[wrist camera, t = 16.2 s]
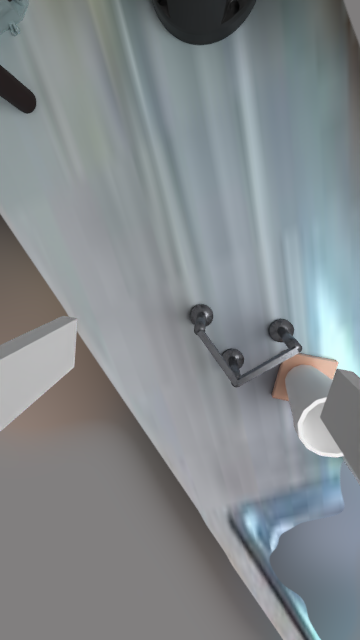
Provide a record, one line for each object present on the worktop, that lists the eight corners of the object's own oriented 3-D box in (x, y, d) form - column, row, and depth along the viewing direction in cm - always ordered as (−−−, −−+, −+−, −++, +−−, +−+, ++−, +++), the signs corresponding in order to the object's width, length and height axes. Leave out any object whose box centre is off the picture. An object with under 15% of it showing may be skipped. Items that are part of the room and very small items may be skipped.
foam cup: (336, 358, 47) (381, 399, 35) (326, 406, 49) (365, 460, 37) (279, 354, 48) (302, 392, 36) (272, 401, 50) (292, 452, 38)
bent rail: (192, 302, 48) (187, 315, 39) (295, 321, 47) (316, 339, 38) (182, 359, 51) (175, 384, 42) (279, 378, 50) (294, 408, 41)
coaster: (284, 350, 49) (285, 352, 48) (335, 360, 48) (338, 362, 47) (271, 394, 51) (272, 397, 50) (320, 404, 51) (322, 407, 50)
